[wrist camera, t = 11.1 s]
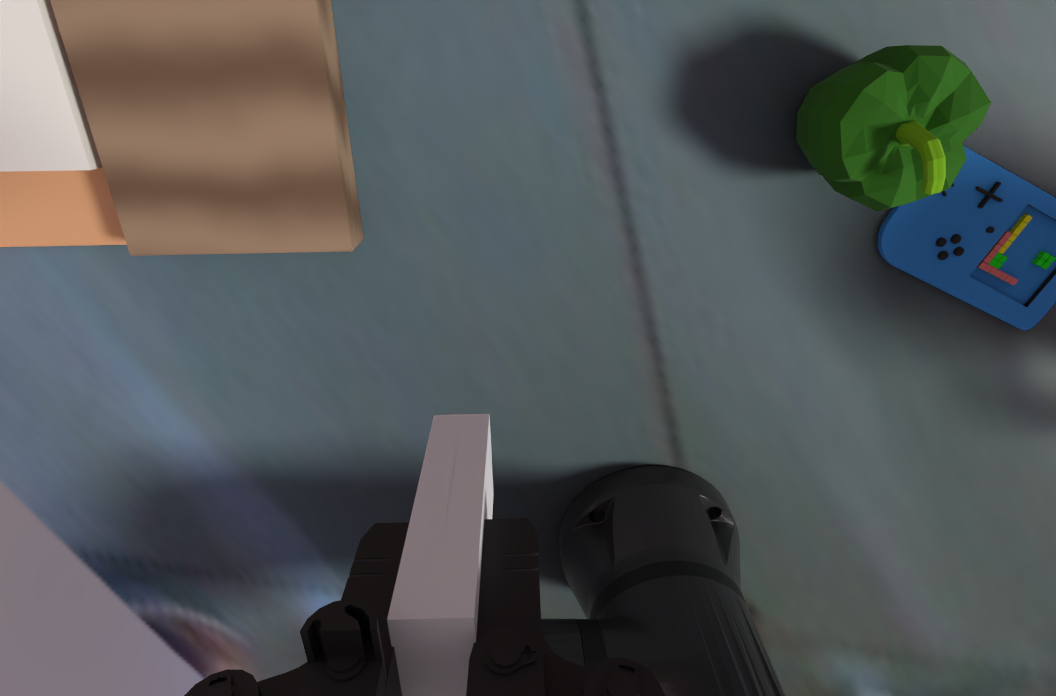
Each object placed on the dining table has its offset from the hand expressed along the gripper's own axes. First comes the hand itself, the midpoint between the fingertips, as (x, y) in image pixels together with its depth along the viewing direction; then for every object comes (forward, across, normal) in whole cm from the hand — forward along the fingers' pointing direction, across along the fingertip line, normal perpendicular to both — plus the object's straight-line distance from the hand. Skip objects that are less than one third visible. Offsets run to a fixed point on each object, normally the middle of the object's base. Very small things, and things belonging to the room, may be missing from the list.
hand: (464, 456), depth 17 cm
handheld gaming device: (+27, -34, +2) cm, 43 cm away
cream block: (+26, +27, -9) cm, 38 cm away
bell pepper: (+27, -22, -6) cm, 35 cm away
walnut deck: (+26, +16, -9) cm, 32 cm away
